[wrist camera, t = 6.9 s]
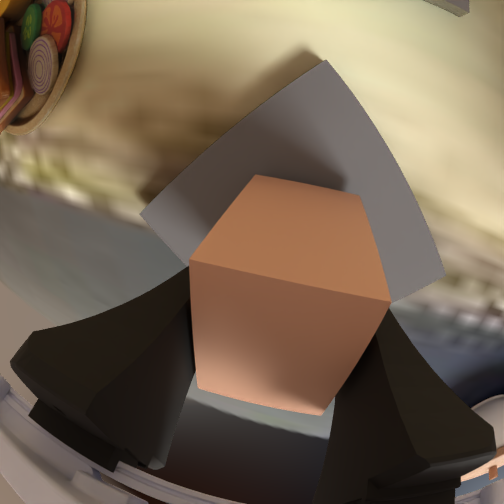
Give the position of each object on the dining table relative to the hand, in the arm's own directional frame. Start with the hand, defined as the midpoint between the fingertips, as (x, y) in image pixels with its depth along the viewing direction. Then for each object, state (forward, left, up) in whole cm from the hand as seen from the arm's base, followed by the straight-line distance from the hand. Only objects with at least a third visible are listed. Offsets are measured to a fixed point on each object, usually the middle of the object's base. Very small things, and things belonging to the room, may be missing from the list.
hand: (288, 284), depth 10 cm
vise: (+11, -14, -4) cm, 18 cm away
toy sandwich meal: (+20, +6, -4) cm, 21 cm away
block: (0, 0, -2) cm, 2 cm away
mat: (0, 0, -4) cm, 4 cm away
